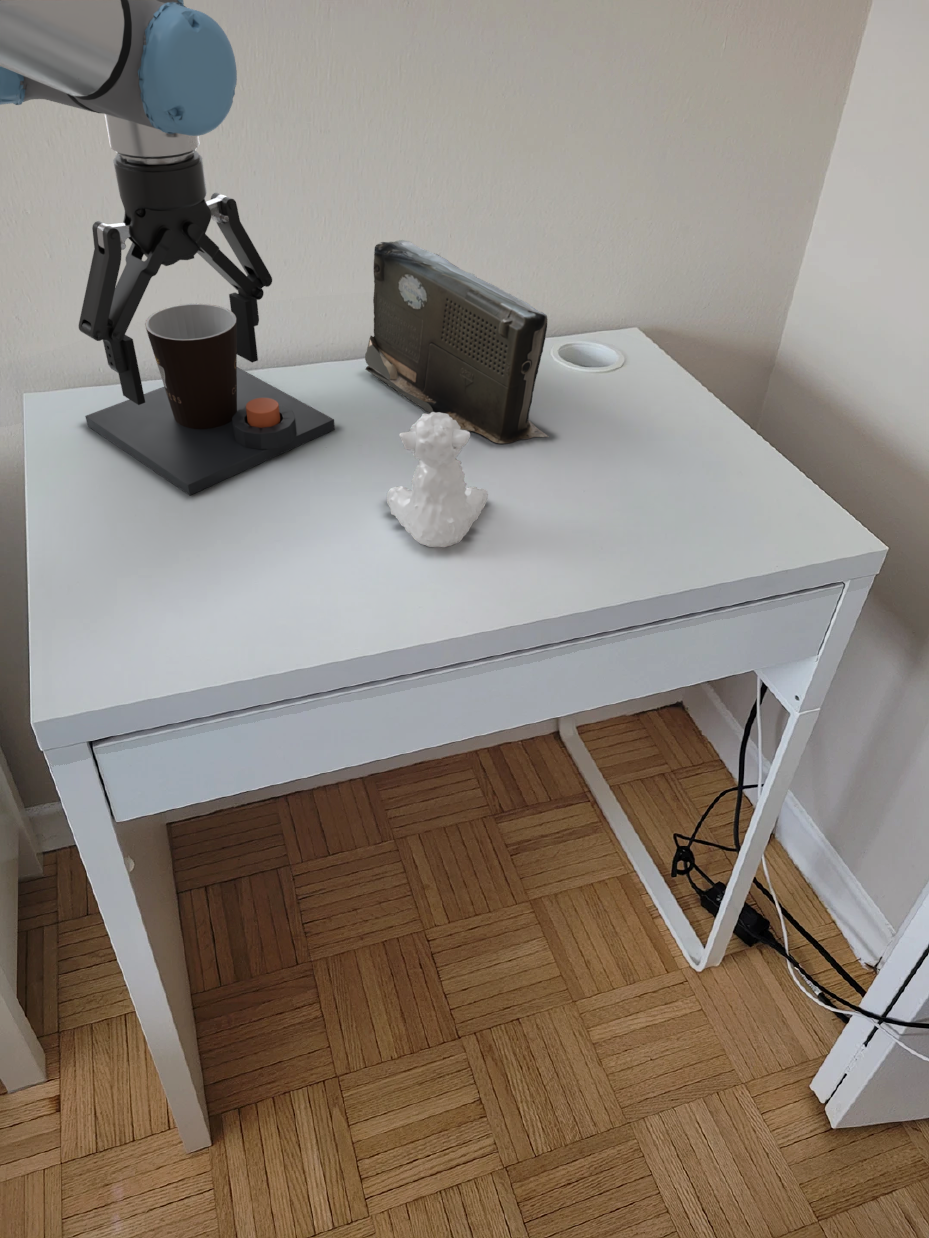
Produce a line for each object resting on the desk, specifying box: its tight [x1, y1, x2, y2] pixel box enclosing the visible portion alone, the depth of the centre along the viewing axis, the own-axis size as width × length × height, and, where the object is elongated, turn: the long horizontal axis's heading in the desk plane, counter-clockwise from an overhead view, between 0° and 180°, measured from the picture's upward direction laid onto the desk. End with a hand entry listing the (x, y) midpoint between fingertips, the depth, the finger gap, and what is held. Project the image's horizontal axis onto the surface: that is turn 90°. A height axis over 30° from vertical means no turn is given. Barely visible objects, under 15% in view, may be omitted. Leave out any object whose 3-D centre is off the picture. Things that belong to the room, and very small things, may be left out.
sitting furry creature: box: [386, 412, 489, 548], centre depth 83 cm, size 10×9×12 cm
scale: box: [84, 366, 336, 496], centre depth 98 cm, size 18×19×3 cm
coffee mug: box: [144, 302, 238, 429], centre depth 96 cm, size 12×9×10 cm
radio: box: [364, 239, 550, 444], centre depth 100 cm, size 23×9×15 cm, turn 37°
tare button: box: [246, 398, 280, 428], centre depth 94 cm, size 3×3×2 cm
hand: (193, 377), depth 97 cm, fingers open, 13 cm apart
